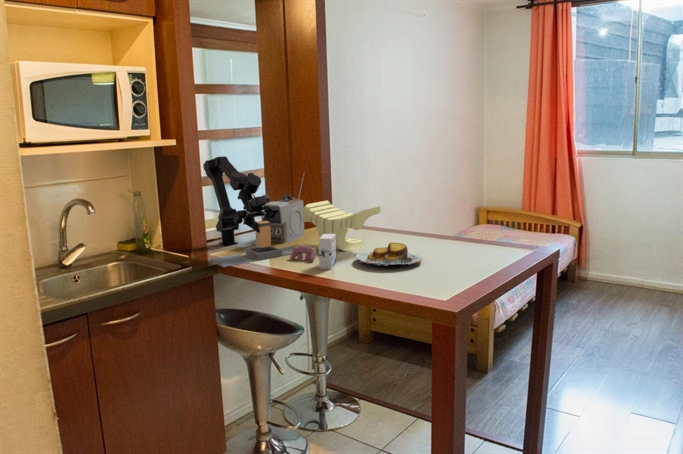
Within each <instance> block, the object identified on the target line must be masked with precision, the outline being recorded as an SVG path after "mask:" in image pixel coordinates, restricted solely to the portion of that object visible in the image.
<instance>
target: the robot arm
mask: <svg viewBox="0 0 683 454" xmlns="http://www.w3.org/2000/svg"><path fill="white" fill-rule="evenodd" d="M202 168H203V171H204V172H205V175H206V176H207V177H208V178H209V179H210V180H211V182H212V185H213V190H214V193H215V196H216V197H215V198H216V200H217V204H218V207H219V213H218V221H217V223H216V225H215V228H216V232H219V233H220V235H221V241H220V242H218V244H220V245H222V246H225V247H226V246H233V245H238V244H239V242H238V241H236V239H235V238H236V237H235V231H237V230H239V228H240V225H241V224H243V225H244V226H245V225H246V226H247V227H249V228H251V229H252V230H253V231H255V233H256V232H258V233H259V232H260V230H259V227H258V225H257V223H256V222H257V220H255V218H258V217H261V216H262V217H263V220H262V219H261V221H268V222H270V219H273V218H275V217H276V215H277V213H278V211H279V209H278V207H277V206H269V207H268V208H267V210H266V211H262V209H263V208H264V206H263V205H265V204H267V203H268V202H271V200H270V197H269V195H268V194H263V195H259V196H256V195H255V194H256V193H257V192H258V190H259V187H260V186H261V184H262V179H261V178H260V176H258V175H256V174H254V172H248V173H247V175H246V174H245V173H243V172H240V171H239V170H237V168H236V166H234V165H233V164H232V163H231V162H230V160H229V158H228V157H227V156H224V155H223V156H216V157H213V158H212V159H209V160H205V162H204V163H203V167H202ZM224 175H225V176H226V177H227V178H228V180H229V185H230V187H231V189H232V190H233V191H239V192H238V195H237V200H241V202H242V205H243V207H242V208H243V209H241V210H237V209H236V208H233V207H232V206H231V203H230V202H231V201H230V199H229V197H228V196H229V195H228V192H227V189H226V186H225V182H224V179H223V176H224ZM270 227H271V226H270Z"/></svg>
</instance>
